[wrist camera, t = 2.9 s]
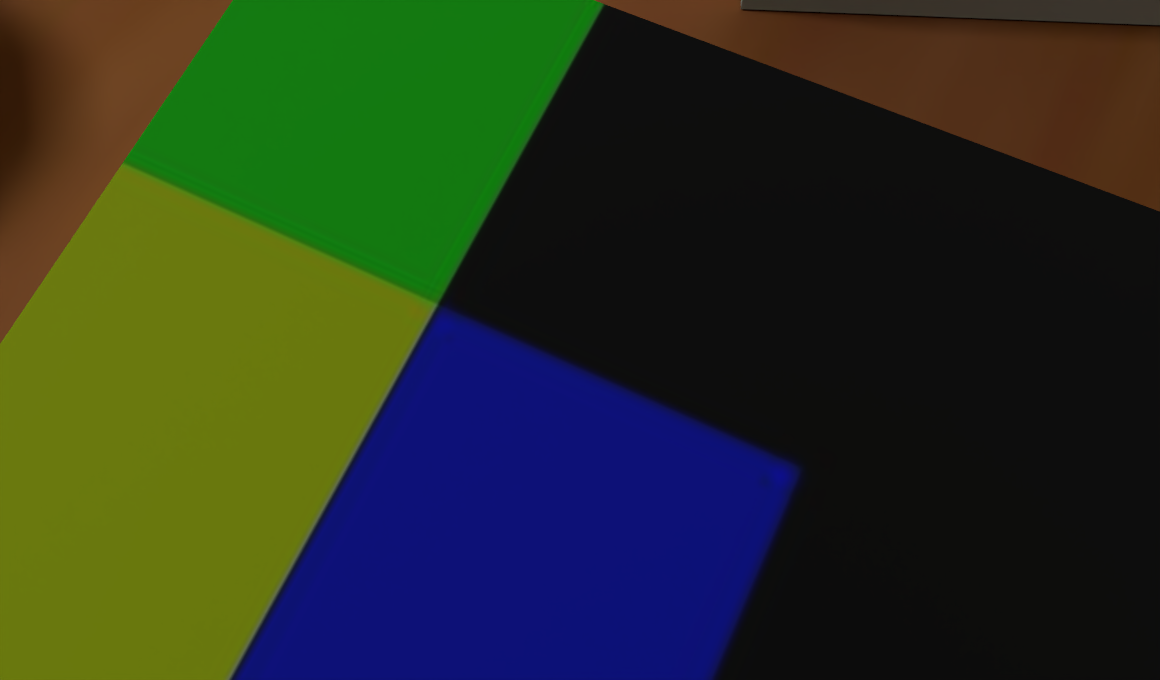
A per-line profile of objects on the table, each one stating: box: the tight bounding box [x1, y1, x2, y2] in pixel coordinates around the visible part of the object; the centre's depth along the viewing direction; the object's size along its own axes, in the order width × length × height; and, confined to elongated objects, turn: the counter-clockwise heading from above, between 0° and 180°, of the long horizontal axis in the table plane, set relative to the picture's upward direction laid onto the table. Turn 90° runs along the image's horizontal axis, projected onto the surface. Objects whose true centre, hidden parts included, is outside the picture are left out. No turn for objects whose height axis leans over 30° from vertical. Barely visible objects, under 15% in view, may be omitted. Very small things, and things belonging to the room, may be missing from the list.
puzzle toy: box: [0, 0, 1160, 680], centre depth 13 cm, size 10×10×10 cm
